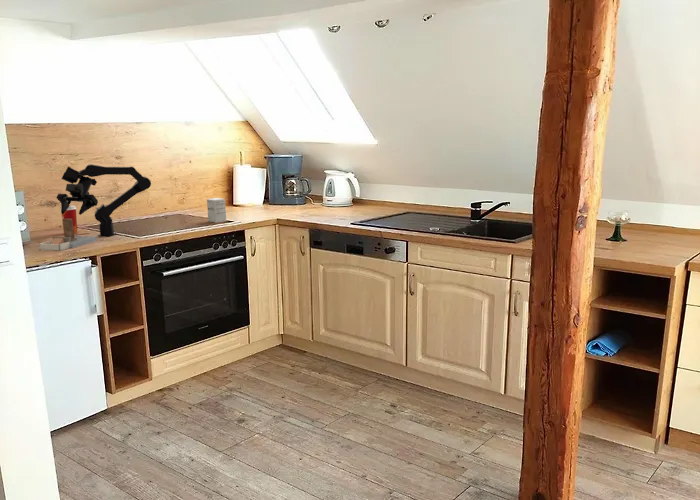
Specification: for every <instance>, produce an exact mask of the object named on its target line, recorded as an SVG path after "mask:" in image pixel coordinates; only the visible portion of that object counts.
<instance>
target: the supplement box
mask: <svg viewBox="0 0 700 500" xmlns="http://www.w3.org/2000/svg"><path fill="white" fill-rule="evenodd" d="M206 205H207V220H208V222H209V223H216V224H217V223H222V222H227V211H226V199H225V198H221V197H214V198H206Z"/></svg>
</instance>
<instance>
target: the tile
mask: <svg viewBox="0 0 700 500" xmlns="http://www.w3.org/2000/svg"><path fill="white" fill-rule="evenodd" d="M52 241H53V242H52ZM52 241H51V242H52V243H51V244H62V243H64V242H65V241H64V240H63V238H55V239H54V240H53V239H52Z"/></svg>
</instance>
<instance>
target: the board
mask: <svg viewBox="0 0 700 500" xmlns="http://www.w3.org/2000/svg"><path fill="white" fill-rule="evenodd" d="M74 237H75V238H77V240H74V241H71V242H69V243H70V248H69V249H75V248H78V247H81V246H84V245H87V244H88V245H89V244H91V243H94V242H97V241H98V236H93V235H92V236H90V235H89V236H88V235H74ZM52 242H53V240H52V241H50V244H51V243H52Z"/></svg>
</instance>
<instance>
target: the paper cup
mask: <svg viewBox="0 0 700 500" xmlns="http://www.w3.org/2000/svg"><path fill="white" fill-rule="evenodd" d="M59 211H61V208H60V209H59ZM60 214H61V218H62V220H63V219H72V221H73V229H74V235H76V234H78V221H77V207H76V206H75V205H70V206H69V207H68V209H67V210H66V211H65V213H64V214H62V213H61V212H60Z"/></svg>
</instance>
